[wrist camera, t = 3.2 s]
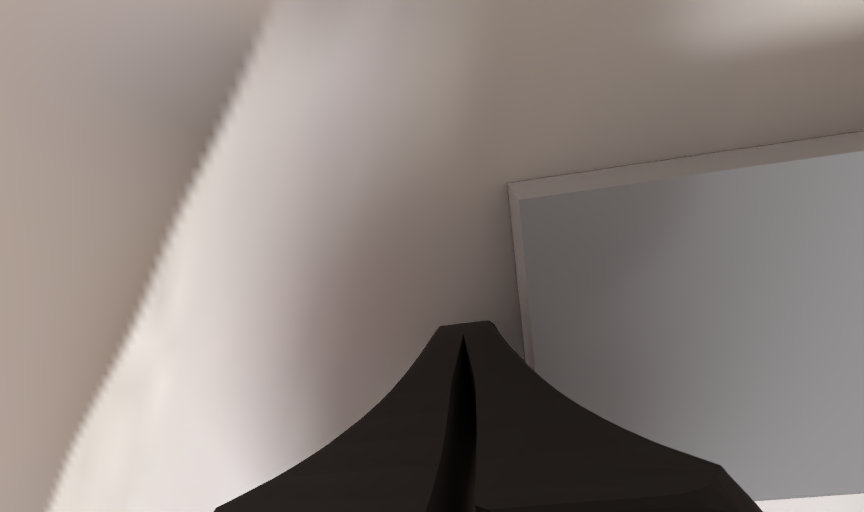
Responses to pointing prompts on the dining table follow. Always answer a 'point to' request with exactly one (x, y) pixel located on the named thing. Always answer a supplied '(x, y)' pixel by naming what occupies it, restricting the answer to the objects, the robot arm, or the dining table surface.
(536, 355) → the grey shell
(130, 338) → the dining table surface
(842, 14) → the dining table surface
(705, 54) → the dining table surface
